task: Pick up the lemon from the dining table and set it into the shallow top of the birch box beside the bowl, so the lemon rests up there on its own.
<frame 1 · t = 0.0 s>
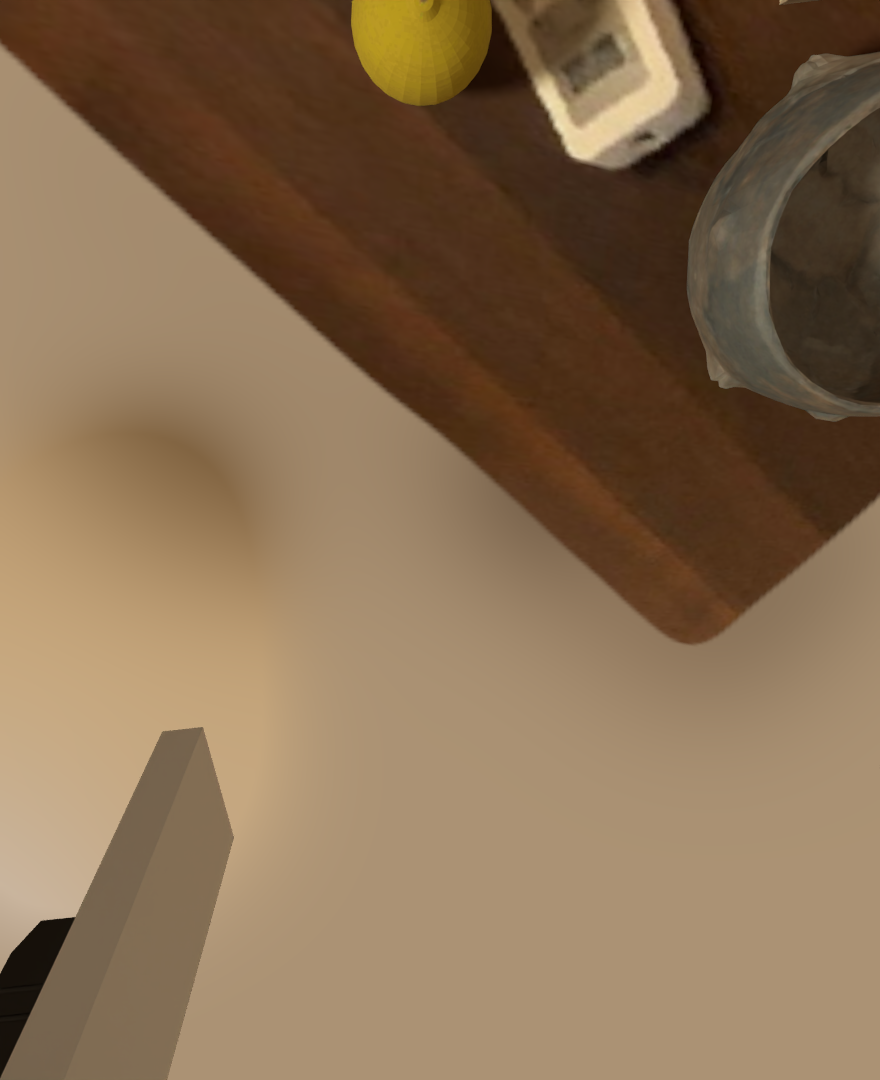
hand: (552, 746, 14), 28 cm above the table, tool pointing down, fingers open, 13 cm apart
bowl: (799, 245, 38), on the table
lemon: (419, 45, 34), on the table
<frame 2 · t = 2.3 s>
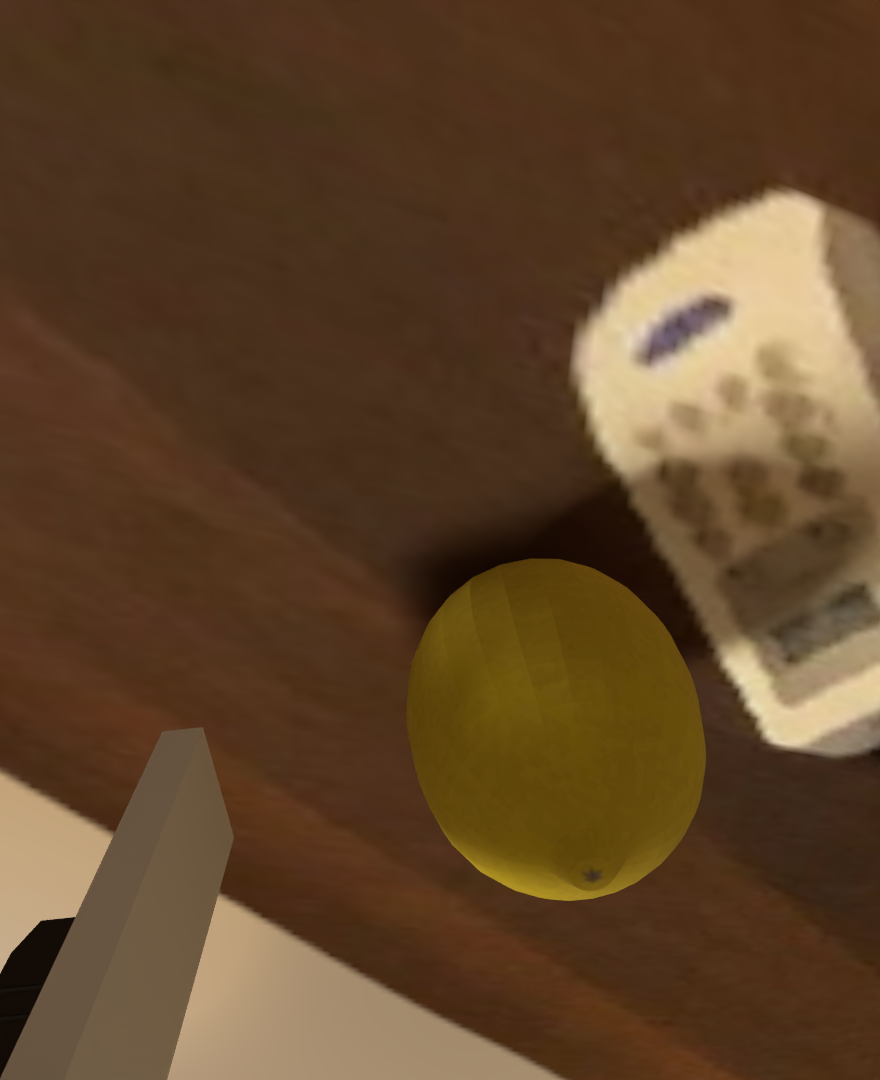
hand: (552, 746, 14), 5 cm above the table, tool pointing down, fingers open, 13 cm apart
lemon: (518, 603, 19), on the table
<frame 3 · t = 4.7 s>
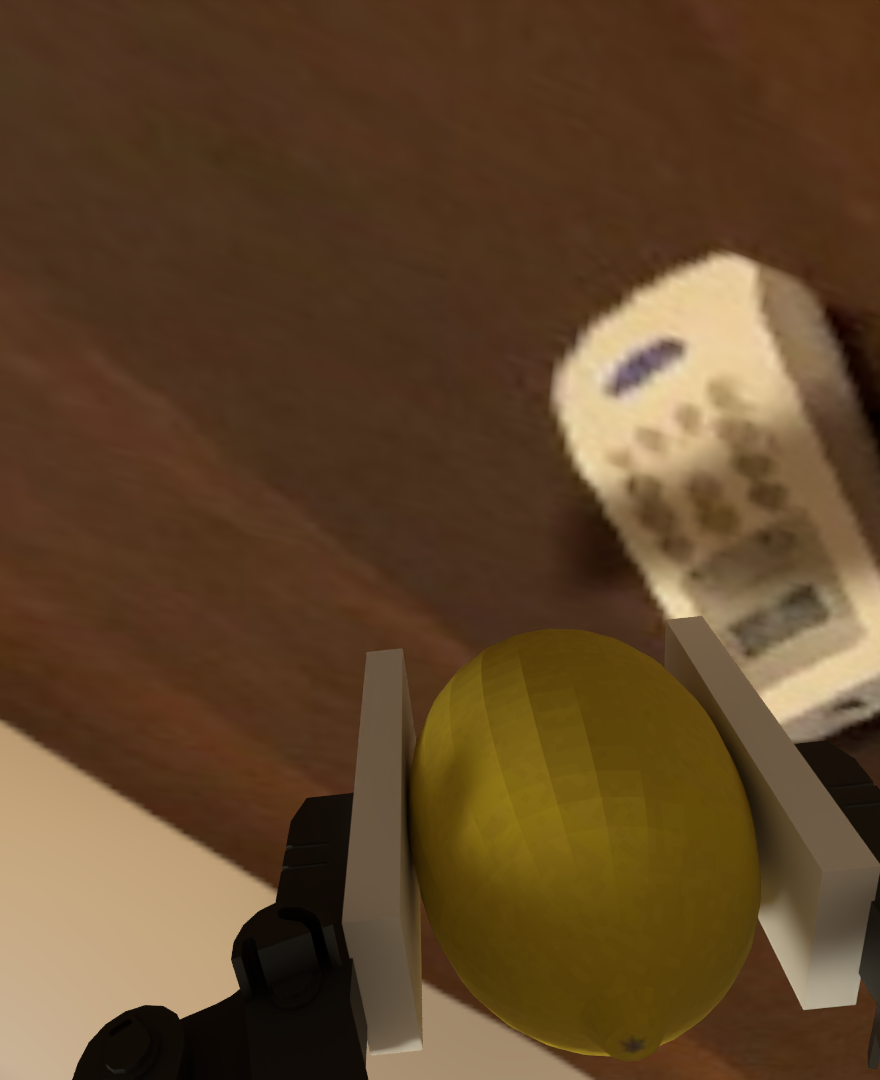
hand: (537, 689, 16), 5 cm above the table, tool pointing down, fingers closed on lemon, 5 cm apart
lemon: (533, 668, 17), point 5 cm above the table, touching gripper
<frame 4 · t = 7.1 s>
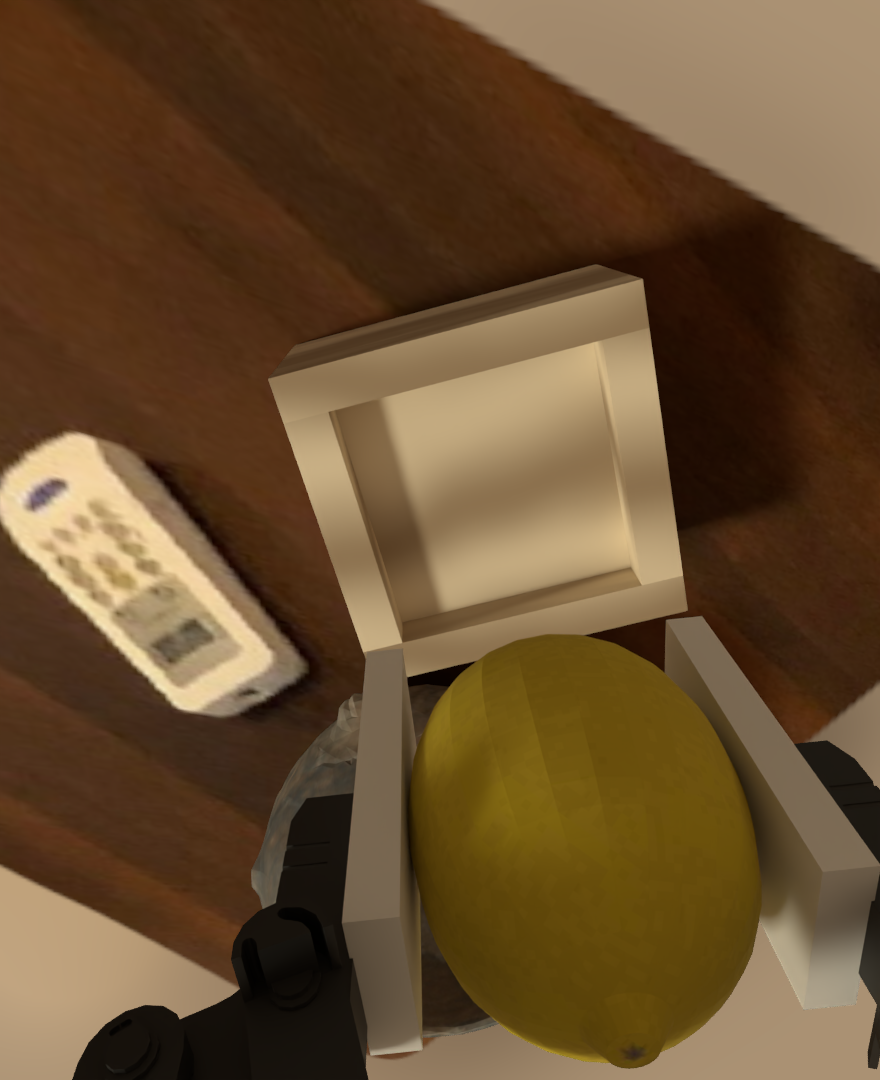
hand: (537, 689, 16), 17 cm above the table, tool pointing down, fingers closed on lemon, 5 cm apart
bowl: (425, 763, 38), on the table
lemon: (533, 673, 17), point 16 cm above the table, touching gripper
birch box: (478, 448, 32), on the table
when the fingers open (7 cm above the table, at t = 9.6 s): lemon drops 2 cm, resting on birch box.
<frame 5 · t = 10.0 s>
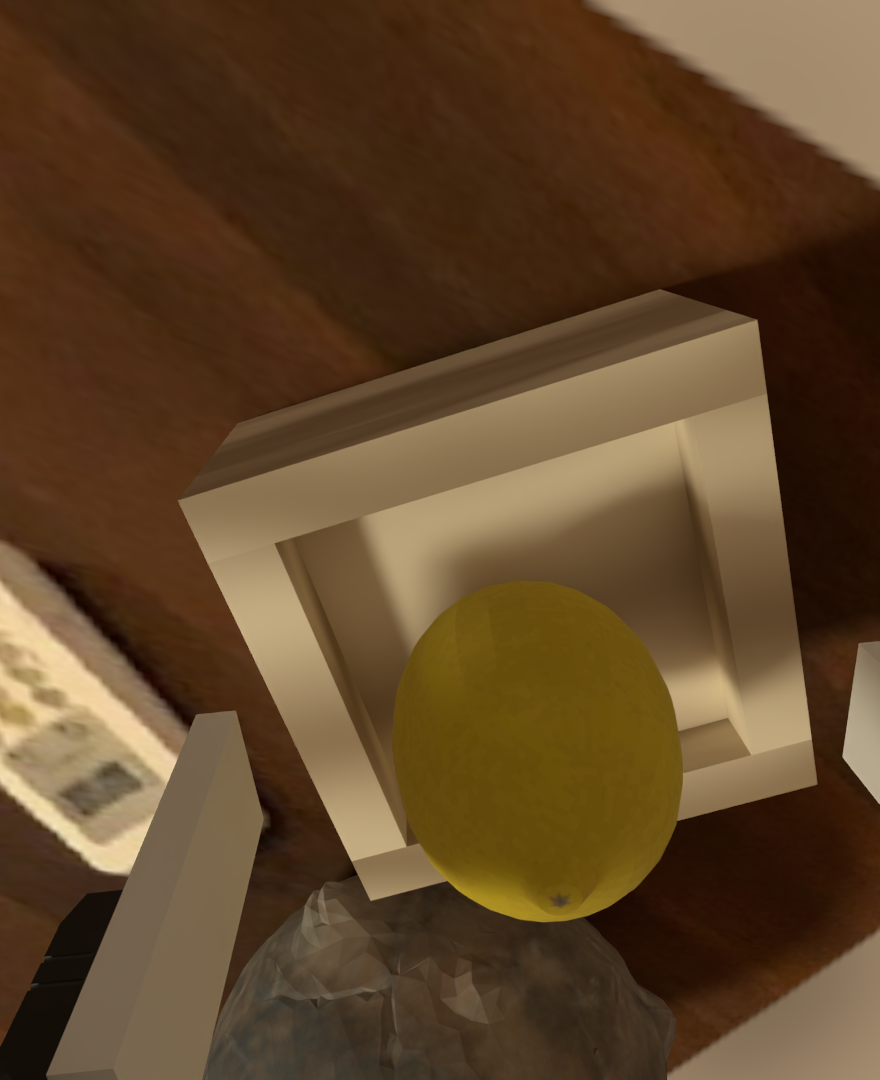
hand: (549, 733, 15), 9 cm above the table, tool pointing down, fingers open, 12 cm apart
bowl: (423, 930, 30), on the table
lemon: (512, 620, 19), point 4 cm above the table, touching birch box
birch box: (499, 543, 23), on the table, touching lemon
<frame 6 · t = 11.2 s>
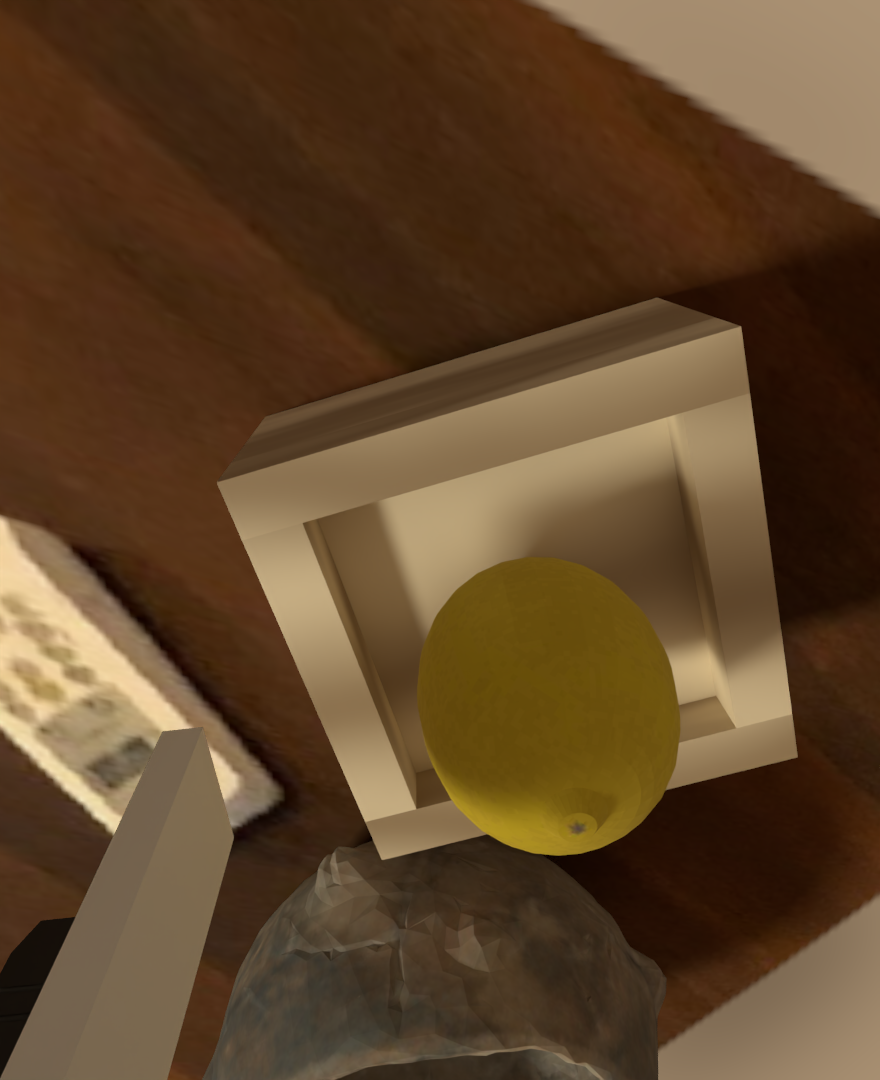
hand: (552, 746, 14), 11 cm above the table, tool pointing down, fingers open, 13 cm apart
bowl: (428, 902, 31), on the table
lemon: (518, 598, 20), point 4 cm above the table, touching birch box
birch box: (506, 533, 25), on the table, touching lemon
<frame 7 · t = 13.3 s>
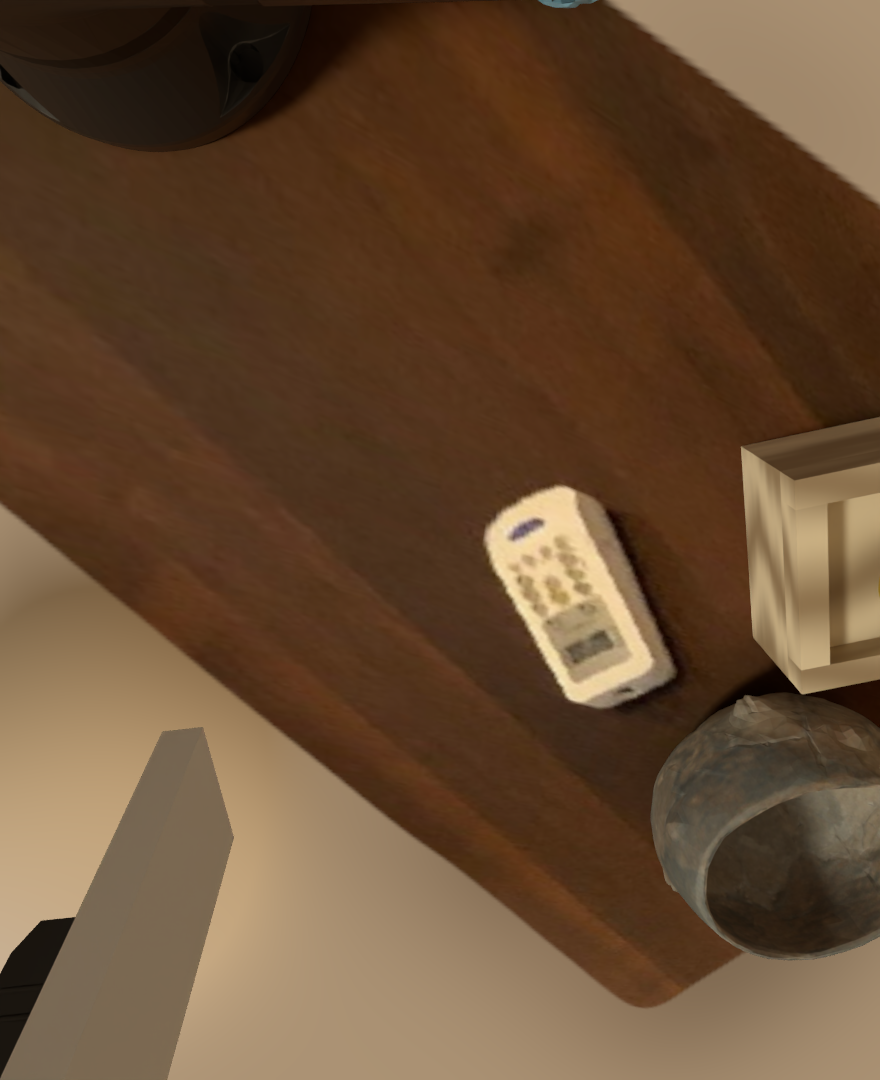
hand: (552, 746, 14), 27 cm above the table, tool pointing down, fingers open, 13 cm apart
bowl: (740, 756, 49), on the table
birch box: (849, 522, 43), on the table, touching lemon
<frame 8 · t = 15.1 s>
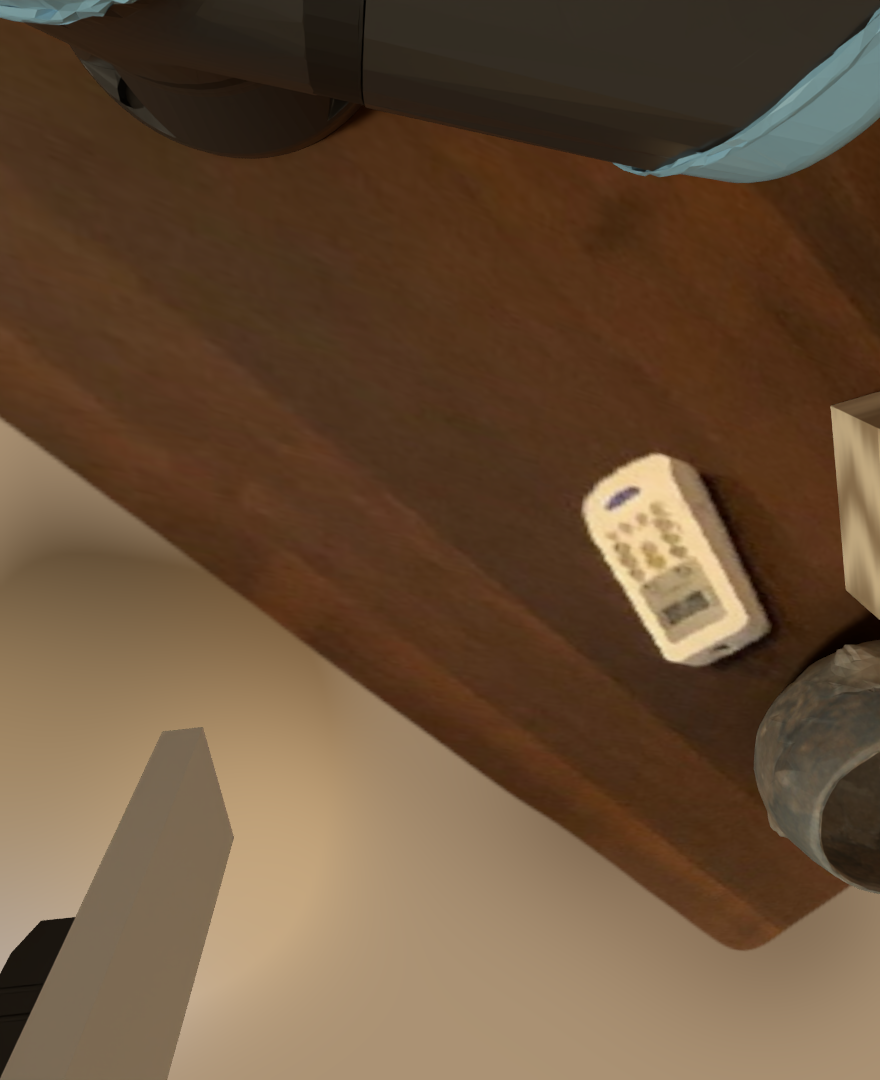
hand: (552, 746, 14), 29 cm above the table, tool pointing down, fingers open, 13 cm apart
bowl: (834, 704, 50), on the table
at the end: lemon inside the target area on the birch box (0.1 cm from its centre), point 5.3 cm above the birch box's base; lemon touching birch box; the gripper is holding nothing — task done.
